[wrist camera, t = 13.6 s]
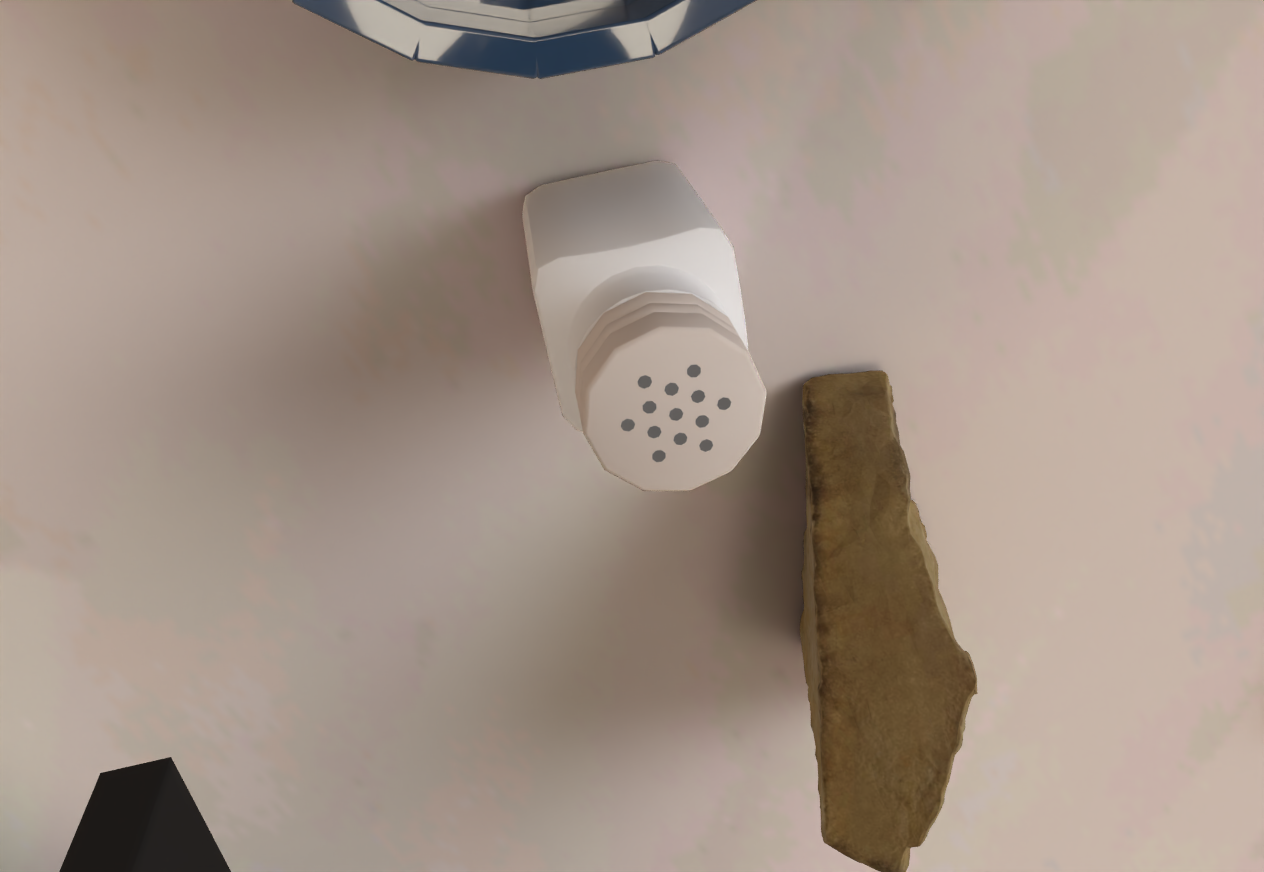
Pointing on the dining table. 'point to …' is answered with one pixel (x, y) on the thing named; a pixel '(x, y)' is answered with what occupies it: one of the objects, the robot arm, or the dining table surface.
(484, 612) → the dining table surface
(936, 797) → the rock
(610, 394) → the pepper shaker
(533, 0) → the bowl
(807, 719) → the dining table surface
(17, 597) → the dining table surface
